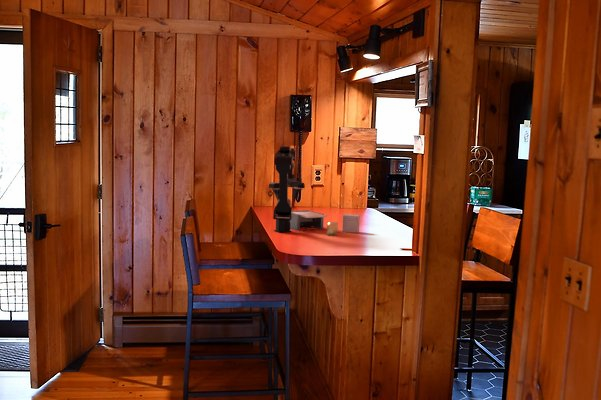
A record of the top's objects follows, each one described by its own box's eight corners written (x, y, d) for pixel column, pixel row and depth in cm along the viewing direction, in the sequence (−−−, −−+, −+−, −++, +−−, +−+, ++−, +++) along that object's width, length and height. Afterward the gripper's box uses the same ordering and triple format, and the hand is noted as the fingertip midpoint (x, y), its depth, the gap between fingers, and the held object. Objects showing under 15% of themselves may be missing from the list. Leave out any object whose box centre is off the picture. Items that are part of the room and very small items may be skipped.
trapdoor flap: (306, 225, 330) (306, 215, 329) (288, 221, 344) (288, 211, 344) (327, 224, 336) (327, 215, 336) (308, 220, 351) (309, 210, 350)
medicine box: (359, 232, 337) (359, 215, 336) (357, 233, 333) (358, 216, 332) (343, 230, 339) (344, 214, 338) (342, 232, 335) (342, 215, 334)
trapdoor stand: (297, 230, 334) (297, 214, 333) (282, 226, 347) (282, 211, 346) (323, 228, 342) (323, 213, 342) (307, 224, 355) (308, 210, 354)
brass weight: (331, 236, 320) (332, 223, 319) (324, 234, 324) (325, 222, 323) (339, 235, 323) (340, 223, 323) (332, 233, 327) (332, 221, 326)
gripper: (279, 173, 331) (278, 204, 333) (311, 173, 341) (309, 203, 342) (268, 171, 340) (267, 201, 342) (299, 171, 350) (298, 200, 352)
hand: (286, 201), depth 344 cm, fingers open, 9 cm apart
